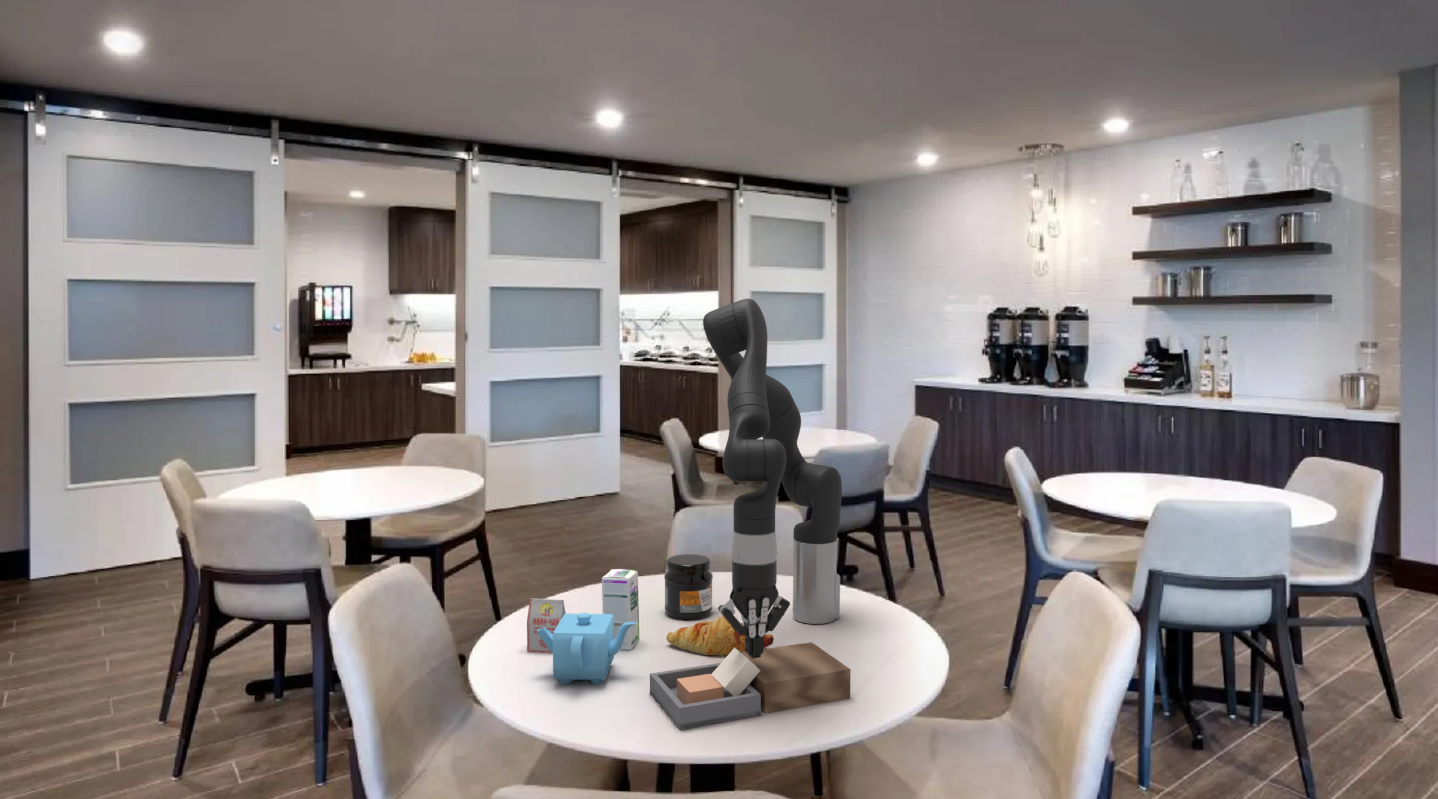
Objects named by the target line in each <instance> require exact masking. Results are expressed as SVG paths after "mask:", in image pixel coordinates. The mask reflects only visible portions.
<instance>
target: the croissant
mask: <svg viewBox="0 0 1438 799" xmlns="http://www.w3.org/2000/svg"><path fill="white" fill-rule="evenodd" d="M740 624H741V625H742V626H743V622H740ZM665 637H666V641H667V642H668V643H669V644H670V645H672V646H674V647H676V648H678V649H681V650H684V651H688V652H692V653H696V654H699V655H703V656H719V657H723V656H726V657H727V656H728V655H729V653H730V652H731V651H732V650H733V649H734V648H736V649H737V650H738V651H739V652H741V653H742V652H746V651H745V635H744V636H741V635H740V634H739V633H738V632H736V631H735V630H734V629H733V628H732V626H731V625H730V624H729V623H728V622H727V620H726V619H725V618H724V617H723V615H721V616H718V617H716V618H714V619H713V620H707V621H706V620H705V621H698V622H697V623H694V624H693V625H690V626H686V627H685V626H684V627H680V628H678V629H676V630H675V631H673V632H668V633H667V634H666V636H665ZM774 640H775V638H774V635H772V634H771V633H770V634H766V633H765V635H764V649H767V647H768V648H769V647H770V646H771V645H773V644H774Z"/></svg>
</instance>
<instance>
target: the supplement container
mask: <svg viewBox="0 0 1438 799" xmlns="http://www.w3.org/2000/svg"><path fill="white" fill-rule="evenodd" d="M710 569H711V559H710V558H709V557H707V556H705V555H701V554H694V553H693V554H690V553H686V554H685V553H684V554H677V555H676V554H675V555H672V556H669V557H668V558H666V570H667V571H666V572H665V573H664V576H663V577H664V578H663V579H664V611H665V613H666V614H667V615H668V616H669V617H671V618H672V619H673V618H674V619H677V620H683V621H685V620H687V621H693V620H694V621H695V620H699V619H703V618H706V617H707V616H709V615H710V614H712V611H713V579H714V578H713V573H712V571H711V570H710Z"/></svg>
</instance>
